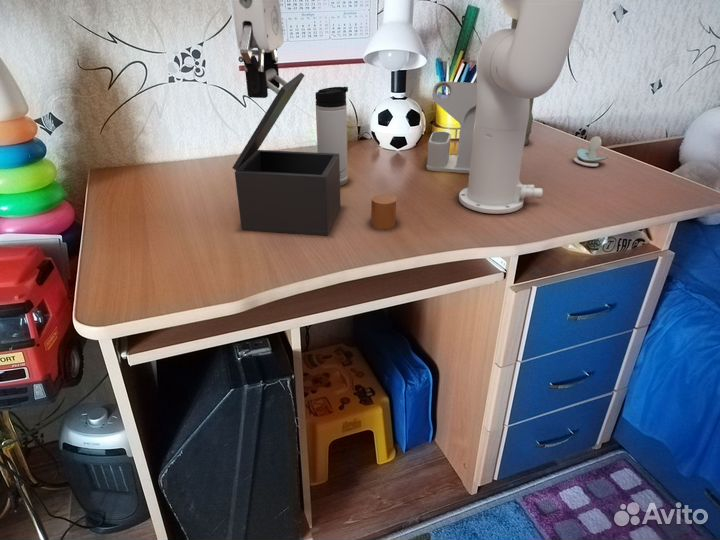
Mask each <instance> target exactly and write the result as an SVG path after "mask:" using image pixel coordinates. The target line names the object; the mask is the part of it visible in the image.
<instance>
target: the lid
mask: <svg viewBox="0 0 720 540" xmlns="http://www.w3.org/2000/svg"><path fill="white" fill-rule="evenodd" d="M304 77H305V74H303V73H302V72H300V73H298V74H297V75H296V76H294V77H293V78H292V79H290V80H289V81H285V80H284V78H282V77H281V76H280V75H279V76H278V75H277V73H276V70H275V69H273V68H271V69H269V70H267V71H266V79H267V87H268V88H270V91H272V92H274V93H275V94H276V95H275V97H274V99H273V100H272V102H271V104H270V105H269V107H268V109H267V110H266V111H265V113H264V115H263V117H262V119H261V120H260V122H259V123H258V125H257V126H256V128H255V130H254V132H253V133H252V135H251V136H250V138H249V140H248V141H247V143H246V145H245V146H244V147H243V149H242V151H241V153H240V154H239V156H238V158H237V159H236V161H235V162H234V164H233V166H232V169H233V170H234V171H236V170H237V169H238V168H239V167H241V166H242V165H243V164H244V163H245V162H246V161H247V160H248V159H249V158H250V157H251V156H252V155H253V154H254V153H255V152H256V151H257V150H260V147H261V146H262V144H263V143H264V142H265V140H266V138H267V137H268V135H269V133H270V131H271V130H272V128H273V127H274V126H275V124H276V122H277V121H278V119H279V118H280V115H282V112H283V111H284V109H285V108H286V106H287V104H288V103H289V101H290V99H292V97H293V95H294V94H295V91H296V90H297V88H298V87H299V85H300V84H301V82H302V80H303V79H304ZM272 79H275V80H276V81H277V82H279V84H280V85H281V88H277V87H276V86H274V85H273V84H272V83H270V82H269V81H271V80H272Z"/></svg>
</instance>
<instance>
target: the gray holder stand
mask: <svg viewBox="0 0 720 540" xmlns="http://www.w3.org/2000/svg"><path fill="white" fill-rule="evenodd" d="M441 87H445V88H447V89H448V91H449V93H448V95H447V97H444V98H441V97H439V95H438V90H439V89H440V88H441ZM431 96H432V101H434V103H435V104H436V105H437V106H439V107H440V108H441V109H442V110H443V111H444V112H445V113H447V114H448V115H449V116H451V117H452V118H453V119H454V121H456V122H458V123H459V125H460V127H459V135H458V143H457V144H458V146H457V152H456V153H457V155H453V154H450V152H451V151H450V149H451V139H452V135H451V133H450V132H447V131H434V132H432V133H431V135H430V137H429V139H428V144H427V159H426V166H425V167H426V168H425V169H426V170H428V171H432V172H433V171H435V172H445V173H459V174H469V172H470V162H471V153H472V143H473V134H474V124H475V116H476V105H477V82H461V81H438V82H437V83H435V85H434V86H433V88H432V95H431Z"/></svg>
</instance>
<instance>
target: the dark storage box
mask: <svg viewBox="0 0 720 540" xmlns="http://www.w3.org/2000/svg"><path fill="white" fill-rule="evenodd" d="M234 177H235V186H236V187H235V188H236V195H237V203H238V211H239V219H240V226H241V231H252V232H267V233H281V234H295V235H296V234H299V235H311V236H312V235H313V236H325V237H328V236H329V234H330V232H331V229H332V227H333V226H334V223H335V221H336V218H337V216H338V214H339V212H340V210H341V186H340V160H339V154H334V153H318V152H311V151H289V150H271V149H269V150H268V149H258V150H257V151H256V152H255V153H254V154H253V155H252V156H251V157H250V158H249V159H248V160H247V161H246V162H245V163H244V164H243V165H242V166H241V167H239V168H238V169H237V170H234Z"/></svg>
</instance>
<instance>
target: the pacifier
mask: <svg viewBox="0 0 720 540" xmlns="http://www.w3.org/2000/svg"><path fill="white" fill-rule="evenodd" d="M601 147H602V139H601V137H600V136H597V135H596V136H593V137H592V138H591V139H590V140H589V142H588V149H589V150H587V149H585V148H579V149H578V150H577V152H576V154H577V156H576V157H574V158H573V162H574V163H576V164H578V165H582V166H584V167H591V168H594V167H598V166H599V165H600V164H599V162H601V161H605V160H607V159H608V158H609V156H606V157H605V156H604V157H603V156H602V157H597V156H598V152H599V149H600V148H601Z"/></svg>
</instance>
